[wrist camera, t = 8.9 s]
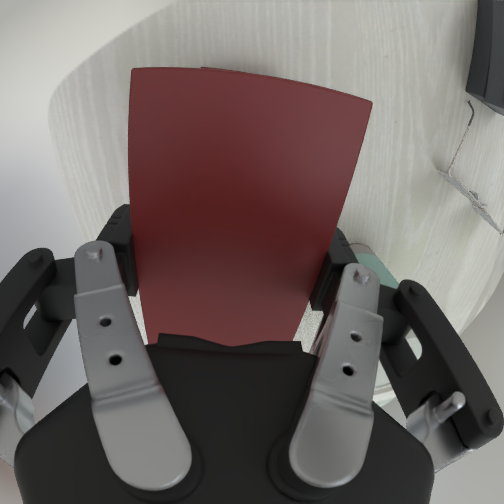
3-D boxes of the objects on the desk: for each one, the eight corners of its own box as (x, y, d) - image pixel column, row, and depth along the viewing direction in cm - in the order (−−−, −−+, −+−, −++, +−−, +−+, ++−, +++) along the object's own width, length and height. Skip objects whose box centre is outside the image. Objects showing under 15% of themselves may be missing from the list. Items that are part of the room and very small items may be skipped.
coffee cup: (340, 217, 25) (397, 322, 15) (401, 249, 27) (457, 339, 18) (291, 284, 29) (314, 392, 19) (353, 304, 32) (386, 396, 22)
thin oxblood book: (148, 67, 7) (130, 68, 5) (352, 94, 8) (374, 102, 6) (156, 335, 14) (151, 360, 12) (276, 343, 15) (280, 369, 13)
